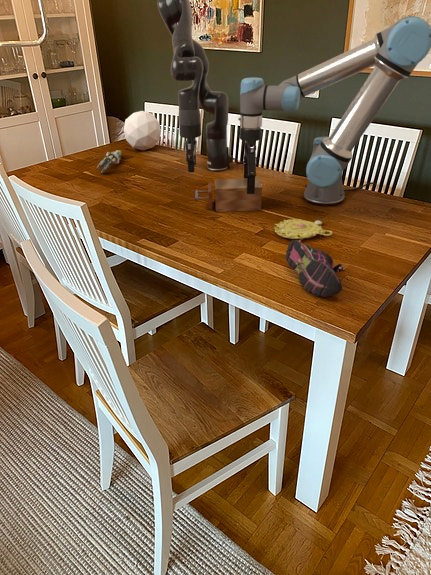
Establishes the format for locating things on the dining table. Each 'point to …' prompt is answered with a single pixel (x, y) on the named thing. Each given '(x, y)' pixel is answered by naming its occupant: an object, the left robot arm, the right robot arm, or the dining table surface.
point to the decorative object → (300, 229)
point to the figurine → (110, 160)
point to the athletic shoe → (314, 269)
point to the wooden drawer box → (236, 195)
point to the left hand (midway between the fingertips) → (192, 168)
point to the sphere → (142, 130)
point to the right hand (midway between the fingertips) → (248, 187)
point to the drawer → (205, 197)
